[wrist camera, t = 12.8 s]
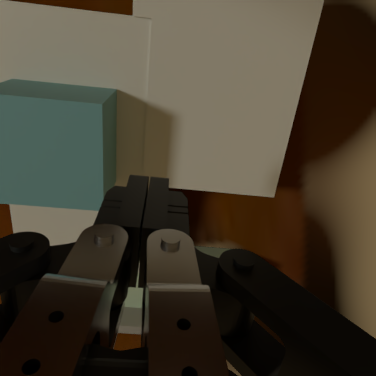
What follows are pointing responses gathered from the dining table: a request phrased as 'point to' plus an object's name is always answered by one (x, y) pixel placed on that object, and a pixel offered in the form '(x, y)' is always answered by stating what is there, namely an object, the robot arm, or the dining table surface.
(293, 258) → the dining table surface
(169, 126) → the tray
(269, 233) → the dining table surface
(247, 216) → the dining table surface
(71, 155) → the block
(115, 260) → the robot arm
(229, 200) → the dining table surface
